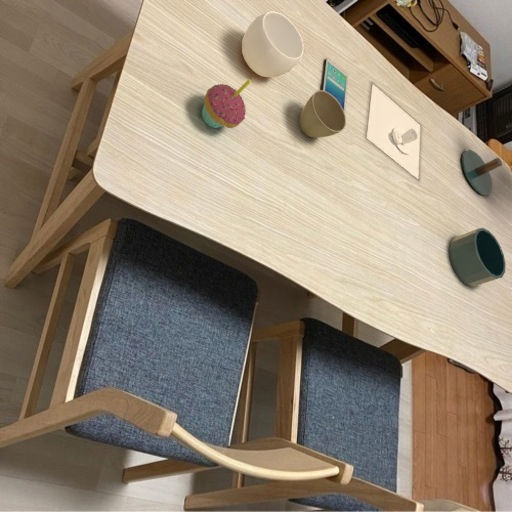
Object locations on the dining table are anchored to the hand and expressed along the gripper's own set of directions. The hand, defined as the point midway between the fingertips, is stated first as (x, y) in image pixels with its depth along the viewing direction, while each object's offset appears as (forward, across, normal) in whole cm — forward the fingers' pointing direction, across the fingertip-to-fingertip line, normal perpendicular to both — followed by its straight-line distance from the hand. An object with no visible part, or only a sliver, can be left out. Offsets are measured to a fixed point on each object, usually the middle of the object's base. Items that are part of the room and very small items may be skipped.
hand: (507, 157), depth 165 cm
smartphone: (+11, -30, -52) cm, 61 cm away
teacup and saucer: (+11, -16, -33) cm, 38 cm away
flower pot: (+11, -20, -68) cm, 71 cm away
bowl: (+11, +22, -28) cm, 37 cm away
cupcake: (+11, -24, -94) cm, 98 cm away
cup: (+11, -36, -76) cm, 85 cm away
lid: (+10, 0, 0) cm, 10 cm away
